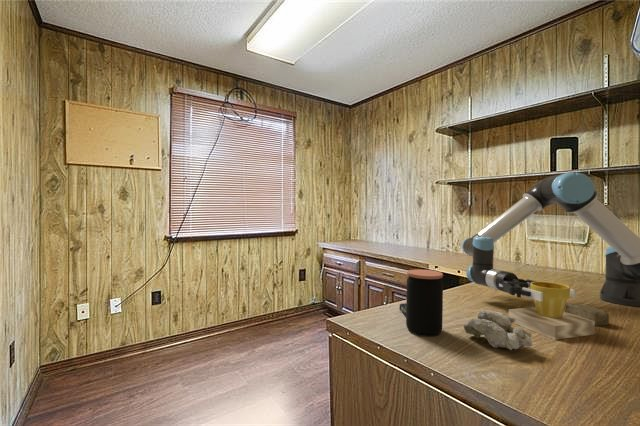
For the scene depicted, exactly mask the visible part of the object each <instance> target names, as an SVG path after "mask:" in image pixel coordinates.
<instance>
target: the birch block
mask: <svg viewBox="0 0 640 426" xmlns="http://www.w3.org/2000/svg"><path fill="white" fill-rule="evenodd" d="M508 317H512V318H514V319H515V322H513V323H512V324H514V325H516V326H518V327H521V328H523V329H527V330H530V331H532V332H534V333H537V334H540V335H541V336H545V337H546V338H550V339H552V340H554V341H555V340H563V339H569V338H571V339H572V338H577V337H578V338H579V337H585V336H591V335H592V336H593V335H595V331H596V330H595V326H596V325H595V321H592V320H589V319H586V318H582V317H579V316H576V315H573V314H569V313H566V312H565V311H564V312H563V316H562V317H561V318H550V317H545V316H541V315H539V314H538V313H537V310H536V306H532V307H521V308H512V309H511V308H509V309H508Z"/></svg>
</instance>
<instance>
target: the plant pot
mask: <svg viewBox="0 0 640 426" xmlns="http://www.w3.org/2000/svg"><path fill="white" fill-rule="evenodd" d="M536 281H537V282H531V283H530V287H529V289H532V290H535V291H539V292H543V301H538V300H534V299H533V303H534V305H535V306H534V307H536V310H537V313H538V314H539V315H541V316H545V317H550V318H561V317H562V316H563V312H565V308H566V303H567V301H568V300H569V299H570V289H571V288H570V286H569V285H567V284H564V283H560V282H559V283H558V282H552V281H539V280H536Z"/></svg>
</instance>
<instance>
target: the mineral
mask: <svg viewBox="0 0 640 426" xmlns="http://www.w3.org/2000/svg"><path fill="white" fill-rule="evenodd" d="M513 322H515V319H514V318H512V317H509V315H505V314H504V313H502V312H498V311H494V310H491V309H484V308H483V309H482V308H481V309H480V310H479V311H478V315H477V318H470V319H469V320H467V321H466V323H464V324H463V329H464V331H465V333H467V334H469V335H473V336H474V337H475V338H477V339H480V338H481V336H484V337H485V338H486V340H487V342H488V344H489V345H490V346H492V348H495V349H498V348H506V349H509V350H510V351H512V350H513V349H514V350H517V349H520V348H522V347H532V346H533V341H532V336H533V335H532V334H531V333H530V332H529V331H528V330H526V329H525V328H524V327H522V326H519V325H515V326H514V327H512V324H514V323H513Z"/></svg>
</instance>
